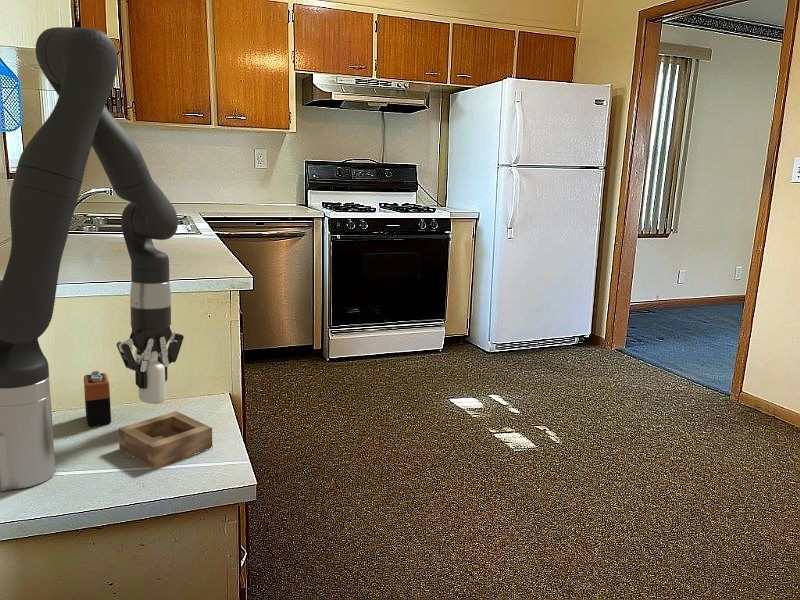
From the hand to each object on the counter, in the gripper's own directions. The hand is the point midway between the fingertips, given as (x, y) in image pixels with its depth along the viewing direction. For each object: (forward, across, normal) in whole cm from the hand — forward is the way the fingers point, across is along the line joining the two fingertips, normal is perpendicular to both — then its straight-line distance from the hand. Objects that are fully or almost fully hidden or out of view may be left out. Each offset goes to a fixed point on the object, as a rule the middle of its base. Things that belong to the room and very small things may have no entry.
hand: (151, 385), depth 126 cm
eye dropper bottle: (+3, 0, 0) cm, 3 cm away
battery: (+9, -6, +10) cm, 15 cm away
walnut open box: (+9, -4, -12) cm, 16 cm away
